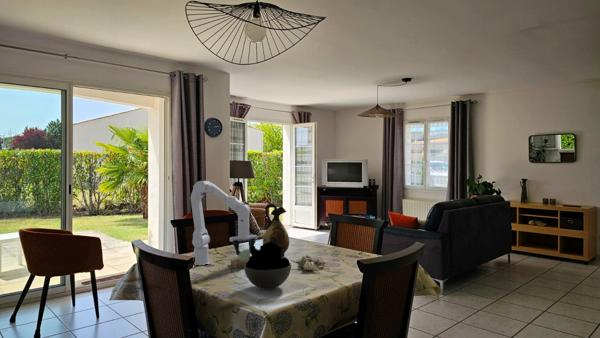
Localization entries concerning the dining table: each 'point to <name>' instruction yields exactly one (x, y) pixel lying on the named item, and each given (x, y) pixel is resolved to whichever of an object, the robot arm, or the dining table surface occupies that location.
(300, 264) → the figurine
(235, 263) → the base block
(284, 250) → the ceramic jug
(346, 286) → the dining table surface
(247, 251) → the cube
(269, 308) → the dining table surface
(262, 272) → the coal bowl
